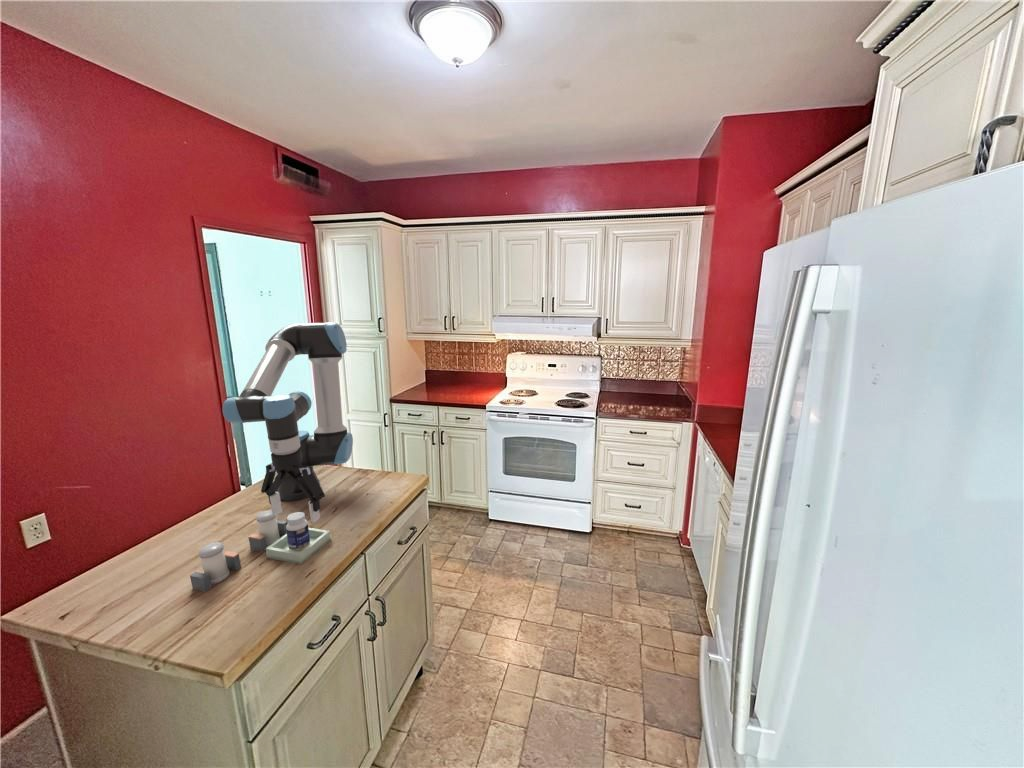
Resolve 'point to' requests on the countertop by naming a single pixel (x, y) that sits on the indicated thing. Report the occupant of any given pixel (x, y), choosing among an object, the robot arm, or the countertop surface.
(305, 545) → the pill bottle
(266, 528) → the fuse
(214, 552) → the white rounded cylinder
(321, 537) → the tray
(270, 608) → the countertop surface
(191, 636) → the countertop surface
